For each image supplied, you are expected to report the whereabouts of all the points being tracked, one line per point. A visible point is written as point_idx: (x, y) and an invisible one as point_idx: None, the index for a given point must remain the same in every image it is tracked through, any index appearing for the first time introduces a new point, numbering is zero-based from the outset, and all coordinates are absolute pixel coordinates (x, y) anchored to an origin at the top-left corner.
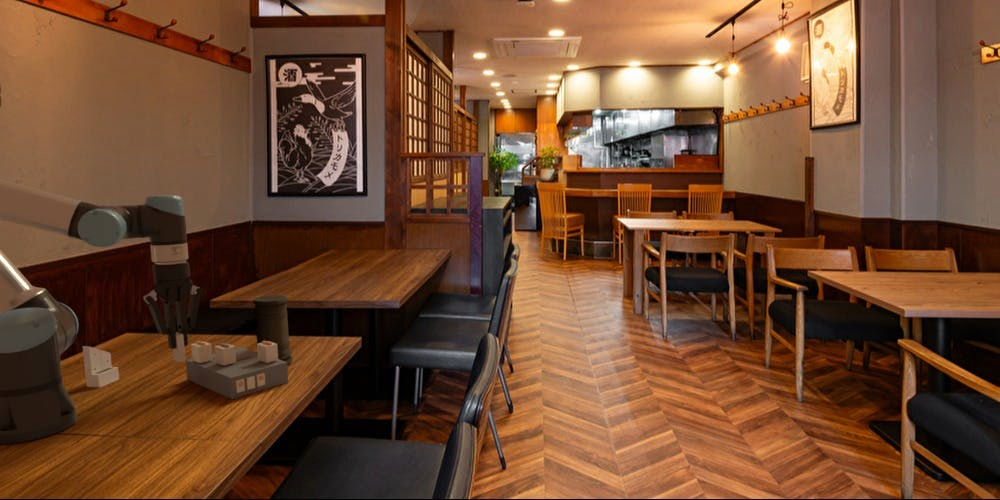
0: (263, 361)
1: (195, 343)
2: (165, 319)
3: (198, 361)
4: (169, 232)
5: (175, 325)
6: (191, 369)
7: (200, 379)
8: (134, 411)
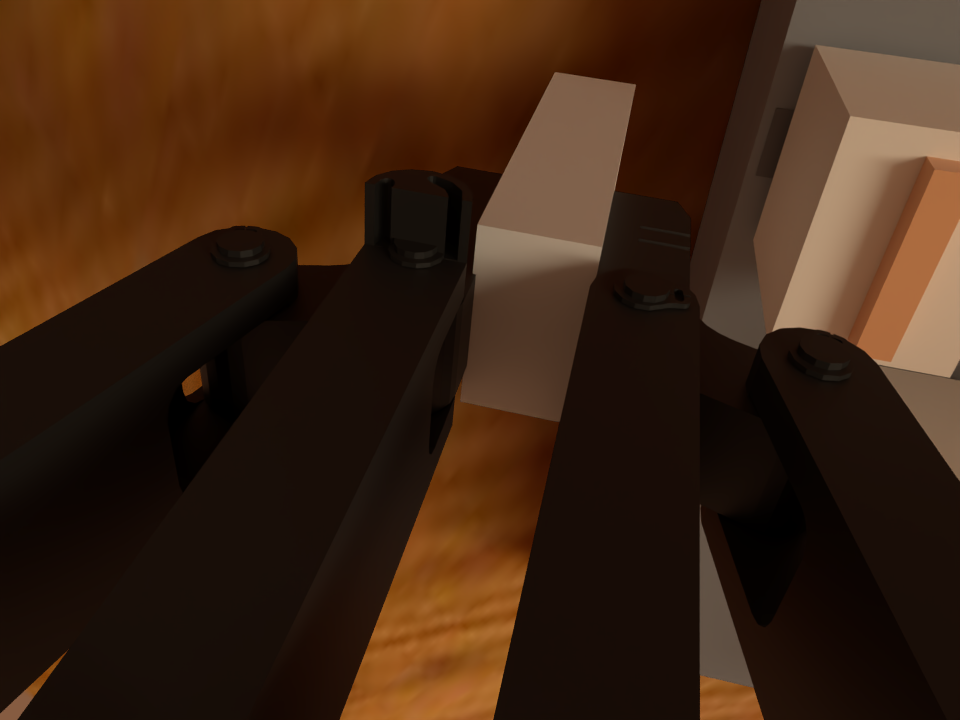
0: None
1: (908, 146)
2: (246, 420)
3: (766, 209)
4: None
5: (414, 516)
6: (772, 27)
7: (716, 192)
8: (179, 218)
